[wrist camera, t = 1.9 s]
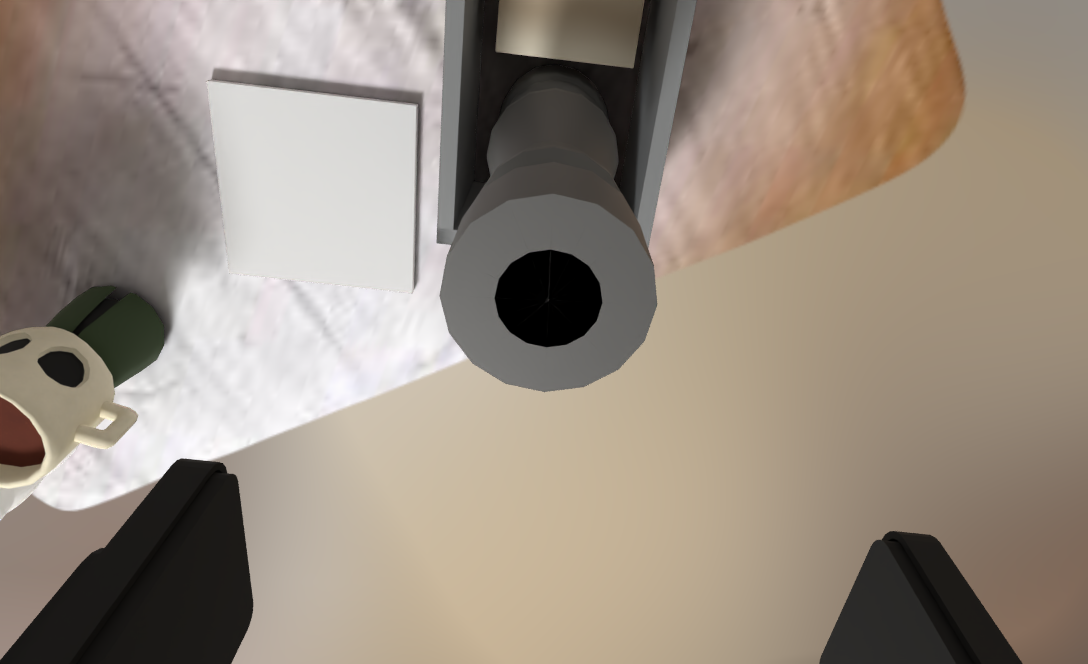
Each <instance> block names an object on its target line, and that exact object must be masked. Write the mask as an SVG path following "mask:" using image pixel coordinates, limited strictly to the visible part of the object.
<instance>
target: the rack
mask: <svg viewBox="0 0 1088 664" xmlns="http://www.w3.org/2000/svg"><path fill="white" fill-rule="evenodd" d="M696 2H697V0H651V2H650V8H649V14H648V20H647V26H646V32H645V38H644V44H643V50H642V56H641V62H640V68H639V74H638V80H637V86H636V91H635V97H634V103H633V109H632V115H631V121H630V127H629V133H628V139H627V145H626V151H625V157H624V163H623V169H622V175H621V181H620V187H619V190H620V192H621V193H622V194H623V196H624V198H625V199H626V201H627V203H628V205H629V206H630V208H631V210H632V212H633V213H634V215H635V217H636V219H637V220H638V222H639V224H640V226H641V229H642V232H643V235H644V238H645V241H646V244H647V247H649V241H650V236H651V231H652V226H653V221H654V216H655V211H656V206H657V201H658V195H659V190H660V185H661V180H662V175H663V170H664V165H665V160H666V155H667V150H668V144H669V139H670V134H671V129H672V124H673V119H674V114H675V109H676V104H677V99H678V93H679V88H680V83H681V78H682V73H683V68H684V63H685V58H686V53H687V48H688V42H689V37H690V32H691V27H692V22H693V17H694V12H695V7H696ZM484 4H485V0H446V12H445V38H444V64H443V90H442V116H441V142H440V168H439V194H438V220H437V243H440V244H449V245H452V242H453V240H454V237H455V235H456V232H457V230H458V227H459V225H460V222H461V220H462V218H463V216H464V215H465V213H466V212H467V210H468V209H469V207H470V206H471V205H472V203H473V202H474V200H475V199H476V197H477V196H478V194H479V193H480V191H481V189H482V188H483V187H484V185H485V184H486V183H484V182H475V181H473V179H474V163H475V148H476V132H477V116H478V100H479V84H480V68H481V52H482V36H483V20H484Z"/></svg>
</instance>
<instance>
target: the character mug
mask: <svg viewBox="0 0 1088 664" xmlns="http://www.w3.org/2000/svg"><path fill="white" fill-rule="evenodd" d="M115 289H116V287H114V286H102V287H92V288H91V289H89V290H87V291H86V292H84V293H83V294H81V295H79V296H78V297H76V298H75V299H74V300H73V301H72V302H71V303H69V304H68V305H67V306H66V307H65V308H64V309H62V310H61V311H60V312H59V313H58V314H57V315H56V316H55V317H54V318H53V319H52V320H51V321H50V322H49V323H48V324H47V325H46V326H45V327H29V328H25V329H20V330H15V331H11V332H9V333H7V334H4V335H2V336H0V487H1V488H8V489H10V488H16V487H22V486H28V485H32V484H33V483H35V482H36V481H37V480H39V479H40V478H42V477H43V476H45V475H46V474H48V473H49V472H50V471H51V470H53V469H54V468H55V467H56V466H57V465H58V464H59V463H60V462H61V461H62V460H63V459H64V458H65V457H66V456H67V455H68V454H69V453H70V452H71V451H72V450H73V449H74V448H75V447H76V446H77V445H78V444H79V443H82V444H85V445H89V446H92V447H95V448H100V449H108V448H110V447H112V446H113V445H115V444H116V442H117V441H118V440H119V439H120V438H121V437H122V436H123V435H124V434H125V433H126V432H127V431H128V430H129V429H130V428H131V427H132V426H133V424H134V423H135V422H136V421H137V418H138V415H137V413H136V412H135V411H134V410H132V409H131V408H128V407H125V406H122V405H118V404H115V403H113V400H114V395H115V391H114V388H115V387H117V386H119V385H120V384H122V383H123V382H125V381H126V380H128V379H129V378H131V377H133V376H134V375H136V374H137V373H139V372H140V371H142V370H143V369H145V368H146V367H147V366H149V365H150V364H151V363H153V362H154V361H156V360H157V358H158V356H159V354H160V352H161V350H162V348H163V346H164V325H163V323H162V322H161V320H160V318H159V317H158V315H157V313H156V312H155V310H154V309H153V307H152V306H150V305H149V304H148V303H147V302H145V301H144V300H143V299H142V298H140V297H139V296H138V295H137V294H134V293H131V292H130V293H129V294H128V295H127V296H125V297H124V298H123V299H121V300H120V301H118V300H116V299H108V298H106V297H107V296H108V295H109V294H110V293H112V292H113V291H114V290H115ZM104 419H108V420H112V421H113V422H112V423H111V424H110V425H109V426H108V427H107V428H106V429H105V430H99V429H96V427H97V426H98V425H99V424H100V423H101V422H102V421H103V420H104Z"/></svg>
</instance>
